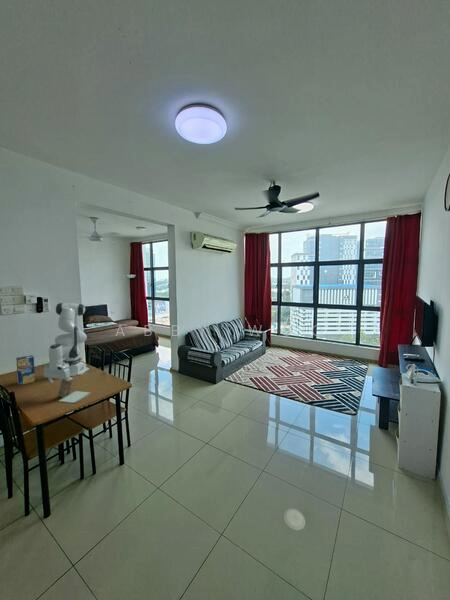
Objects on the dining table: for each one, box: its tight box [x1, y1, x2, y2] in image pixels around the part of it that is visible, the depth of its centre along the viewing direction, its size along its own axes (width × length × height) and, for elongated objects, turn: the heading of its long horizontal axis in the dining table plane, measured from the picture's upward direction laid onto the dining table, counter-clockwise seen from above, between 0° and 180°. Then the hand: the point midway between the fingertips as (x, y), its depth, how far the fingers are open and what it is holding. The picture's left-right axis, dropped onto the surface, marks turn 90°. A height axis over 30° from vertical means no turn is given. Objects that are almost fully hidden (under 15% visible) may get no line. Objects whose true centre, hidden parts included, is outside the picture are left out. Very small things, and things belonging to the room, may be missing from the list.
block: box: [57, 376, 74, 399], centre depth 184 cm, size 5×5×14 cm
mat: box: [57, 390, 92, 404], centre depth 184 cm, size 16×14×1 cm
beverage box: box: [16, 354, 36, 386], centre depth 208 cm, size 7×11×22 cm, turn 136°
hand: (57, 383), depth 185 cm, fingers open, 8 cm apart
